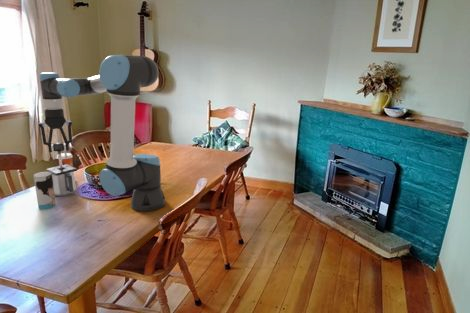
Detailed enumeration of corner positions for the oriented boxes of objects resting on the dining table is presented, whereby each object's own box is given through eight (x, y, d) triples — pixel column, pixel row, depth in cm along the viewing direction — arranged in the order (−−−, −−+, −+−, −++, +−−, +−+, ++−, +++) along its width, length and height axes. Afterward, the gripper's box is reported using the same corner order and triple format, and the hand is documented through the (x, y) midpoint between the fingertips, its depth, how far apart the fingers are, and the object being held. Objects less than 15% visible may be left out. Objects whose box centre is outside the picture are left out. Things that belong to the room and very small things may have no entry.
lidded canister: (83, 193, 158) (80, 169, 154) (61, 200, 150) (58, 175, 146) (69, 186, 165) (66, 163, 162) (48, 193, 157) (44, 168, 154)
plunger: (74, 185, 158) (69, 143, 152) (59, 189, 153) (53, 146, 147) (67, 182, 162) (62, 140, 156) (52, 186, 157) (46, 143, 151)
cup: (53, 209, 141) (49, 176, 137) (36, 210, 139) (31, 177, 135) (57, 202, 147) (53, 171, 143) (41, 203, 146) (36, 172, 141)
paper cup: (68, 182, 170) (65, 157, 166) (55, 181, 172) (52, 155, 168) (78, 177, 178) (75, 153, 174) (66, 176, 179) (63, 152, 175)
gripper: (74, 106, 154) (80, 154, 161) (31, 107, 146) (38, 157, 153) (75, 108, 148) (81, 158, 154) (30, 110, 140) (38, 162, 146)
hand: (60, 157), depth 153 cm, fingers closed on plunger, 4 cm apart
